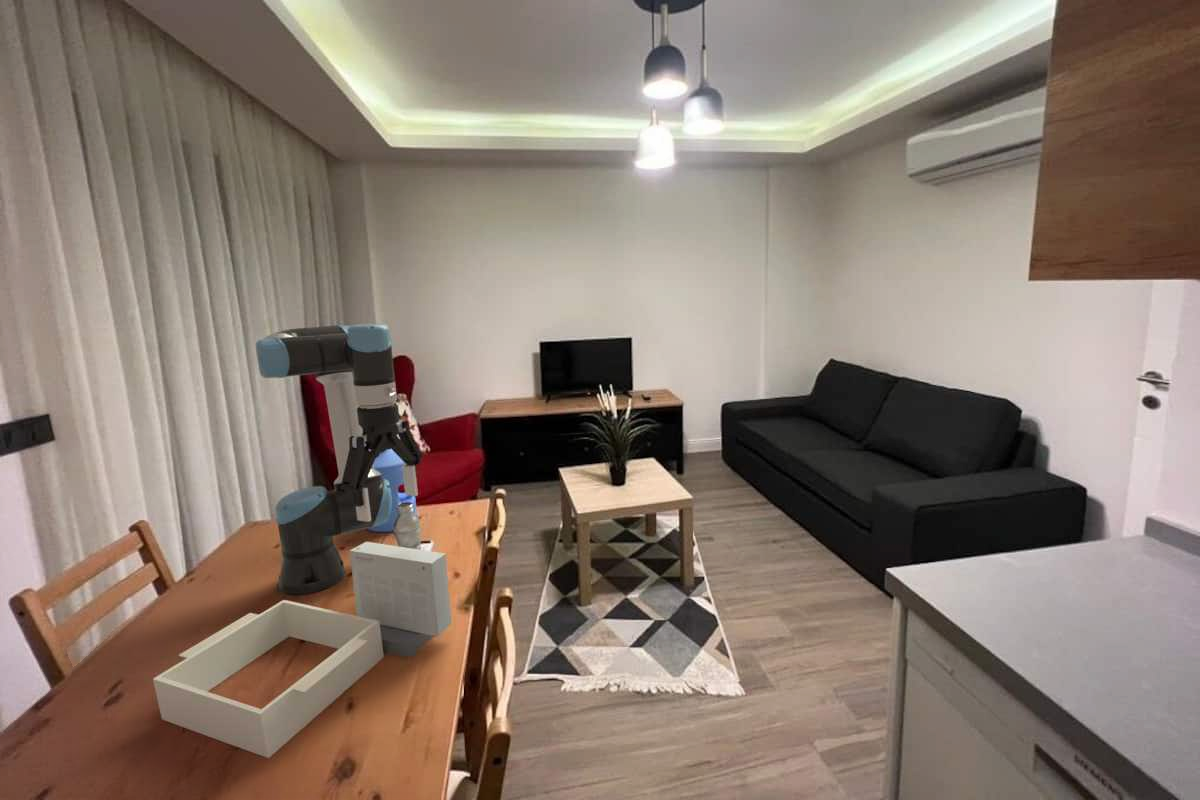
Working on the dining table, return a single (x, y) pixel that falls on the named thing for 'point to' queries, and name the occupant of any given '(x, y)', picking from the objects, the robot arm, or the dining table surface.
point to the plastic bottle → (407, 527)
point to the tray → (243, 643)
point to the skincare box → (401, 587)
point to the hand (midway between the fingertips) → (389, 507)
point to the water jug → (392, 485)
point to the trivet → (401, 641)
